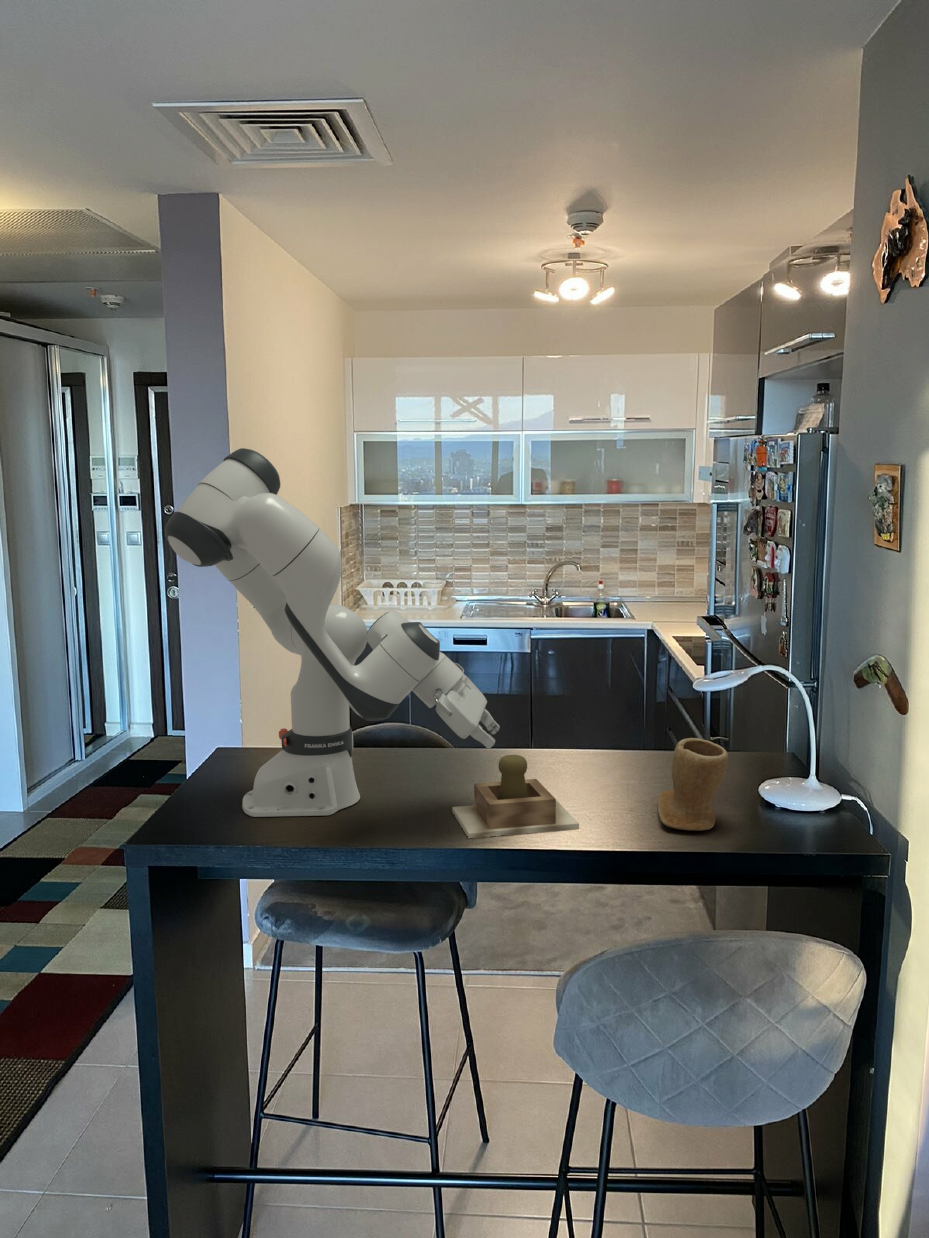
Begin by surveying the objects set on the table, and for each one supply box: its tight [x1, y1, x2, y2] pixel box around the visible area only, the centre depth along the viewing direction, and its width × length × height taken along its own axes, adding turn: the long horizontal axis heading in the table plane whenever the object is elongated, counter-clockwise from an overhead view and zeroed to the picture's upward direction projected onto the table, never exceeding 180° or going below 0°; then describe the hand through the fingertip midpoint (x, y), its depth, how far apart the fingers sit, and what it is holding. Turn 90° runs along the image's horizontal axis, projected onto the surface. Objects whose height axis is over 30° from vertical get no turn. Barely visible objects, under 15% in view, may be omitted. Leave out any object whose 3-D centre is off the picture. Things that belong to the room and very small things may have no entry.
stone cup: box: [657, 737, 729, 831], centre depth 173 cm, size 15×12×15 cm
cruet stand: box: [451, 778, 580, 839], centre depth 175 cm, size 20×14×6 cm
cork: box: [498, 754, 528, 800], centre depth 174 cm, size 6×6×11 cm
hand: (494, 738), depth 174 cm, fingers open, 8 cm apart
